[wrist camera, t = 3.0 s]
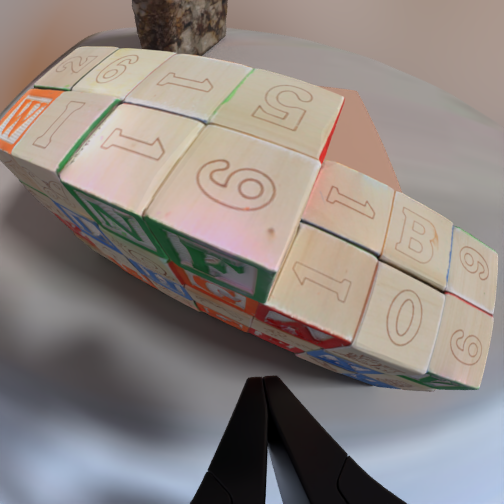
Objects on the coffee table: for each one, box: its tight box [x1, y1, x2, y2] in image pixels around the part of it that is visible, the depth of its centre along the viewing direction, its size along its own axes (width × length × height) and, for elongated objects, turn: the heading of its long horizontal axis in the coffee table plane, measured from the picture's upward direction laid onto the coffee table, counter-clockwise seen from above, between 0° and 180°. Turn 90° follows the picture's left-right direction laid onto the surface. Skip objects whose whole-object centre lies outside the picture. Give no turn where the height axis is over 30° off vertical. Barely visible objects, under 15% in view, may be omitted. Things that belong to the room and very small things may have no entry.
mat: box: [318, 86, 402, 193], centre depth 23 cm, size 16×26×1 cm, turn 93°
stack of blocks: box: [0, 46, 498, 392], centre depth 12 cm, size 21×6×12 cm, turn 65°
